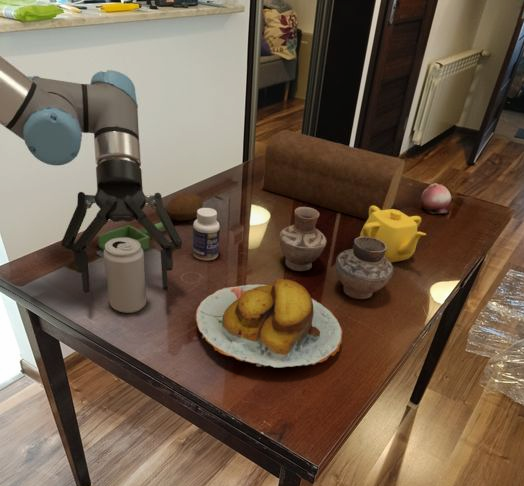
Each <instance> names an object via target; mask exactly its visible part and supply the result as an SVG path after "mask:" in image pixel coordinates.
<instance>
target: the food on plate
mask: <svg viewBox="0 0 524 486" xmlns="http://www.w3.org/2000/svg"><path fill="white" fill-rule="evenodd" d="M194 314H195V318H194V320H195V322H196V327H197V328H198V331H199V332H200V333H201V334H202V336H201V339H205V341H206V342H207V343H208V344H210V345H211V346H212V347H213V349H214V351H217V352H218V353H220V356H222V355H224V356H227V357H232V358H235V360H238V361H241V362H245V363H250V364H255V366H256V367H258V368H259V367H262V366H263V367H269V366H270V367H273V368H287V367H290V368H293V367H296V366H297V367H301V366H309V365H313V366H315V365H316V364H317V363H323V362H324V361H327V360H328V359H329V357H330V356H332V357H334V356H335V355H336V354H337V352H339V351H340V347H341V344H342V343H343V333H344V330H343V328H342V326H341V324H340V323H339V320H338V319H337V318H336V317H335V315H334V313H332V311H331V310H330V309H329V308H327V307H325V306H324V305H323V304H322V303H320V302H318V301H317V300H316V299H314V298H312V297H311V294H310V293H309V291H308V290H307V289H306V288H305V287H304V285H302V284H300V283H298V282H296V281H294V280H291V279H288V278H284V279H282V278H277V279H275V280H274V282H273V284H246V285H237V286H230V287H227V286H226V287H223V288H221V289H217V290H216V291H214V292H212V294H210V295H208V296H206V297H205V298H204V299H203V300H200V302H199V304H198V306H197V307H196V310H195V313H194Z"/></svg>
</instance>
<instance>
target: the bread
mask: <svg viewBox="0 0 524 486" xmlns="http://www.w3.org/2000/svg"><path fill="white" fill-rule="evenodd" d="M266 143H267V144H266V148H265V156H264V157H265V158H264V168H263V178H262V189H263V190H265V191H268V192H271V193H274V194H278V195H281V196H285V197H288V198H292V199H295V200H298V201H301V202H304V203H308V204H311V205H315V206H319V207H321V208H325V209H328V210H331V211H334V212H338V213H341V214H346V215H348V216H352V217H355V218H358V219H362V220H366V221H367V220H368V218H369V208H370V206H376V207H378V208H379V209H380V210H387V209H392V207H393V206H394V204H395V201H396V197H397V192H398V190H399V186H400V182H401V178H402V174H403V171H404V168H405V163H406V161H405V159H402V158H399V157H395V156H391V155H386V154H382V153H377V152H373V151H370V150H365V149H362V148H357V147H354V146H350V145H346V144H342V143H339V142H334V141H330V140H327V139H323V138H321V137H320V138H319V137H315V136H312V135H307V134H304V133H300V132H296V131H293V130H292V131H291V130H289V129H283V130H280V131H278V132H277V133H275V134H273V135H271V136H270V137H269V139H268V140H267V142H266Z"/></svg>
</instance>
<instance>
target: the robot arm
mask: <svg viewBox="0 0 524 486" xmlns="http://www.w3.org/2000/svg"><path fill="white" fill-rule="evenodd" d="M136 94H137V93H136V87H135V84H134V82H133V81H132V79H131V78H129V76H127V75H126V74H124V73H123V72H120V71H117V70H112V69H108V70H106V71H102V70H100V71H98V72H97V71H96V73H95V74H93V75H92V76H91V79H90V83H80V82H79V83H78V82H72V81H66V80H59V79H52V78H47V77H46V78H44V77H41V76H39V75H33V76H29V75H26V74H25V73H23V72H22V71H21V70H19V69H18V68H17V67H15V65H13V64H12V63H10V62H9V61H8V60H6V59H5V58H4V57H2V56H1V55H0V125H1V126H2V127H4V128H6V129H7V130H8V131H10V132H11V133H13V134H14V135H16V136H17V137H18V138H20V139H21V140H23V141H24V145H25V146H26V147H27V149H28V150H29V152H30V153H31V154H32V156H33V157H34V158H35V159H37V160H38V161H40V162H41V163H43V164H45V165H49V166H55V167H56V166H64V165H67V164H69V163H71V162H73V160H75V158H77V157H78V155H79V153H80V150H81V145H82V140H83V139H82V137H83V134H93V140H94V141H93V144H94V157H95V158H94V159H95V165H96V167H95V175H96V193H95V194H94V195H93V194H85V192H84V191H79V192H78V193H77V201H76V202H77V205H76V207H75V209H74V212H73V214H72V216H71V219H70V221H69V223H68V226H67V227H66V231H65V232H64V235H63V237H62V239H61V241H60V244H61V246H62V248H63V249H64V251H65V252H71V253H73V262H74V263H73V265H74V270H75V271H76V274H77V273H78V274H81V282H82V284H81V285H82V291H83V292H84V294H90V293H91V292H90V276H89V275H90V273H89V272H90V271H89V258H88V256H89V255H88V254H87V252H86V249H87V248H88V247H89V245H91V243H92V241H93V240H94V239H95V237H96V236H98V234H99V232H100V231H101V229H102V228H103V227H104V226H105V225H106V224H107V223H108V222H109V221H112V222H113V223H118V222H122V221H123V222H128V223H129V222H131V223H132V222H133V221H134V220H135V221H137V222H138V224H139V225H141V226H142V227H143V228H145V229H146V231H147V232H148V233H149V235H150V237H152V239H153V240H154V241H155V243H157V244H158V245H159V247H160V248H161V249H160V263H161V280H162V291H168V289H169V283H168V271H173V269H174V259H173V252H174V251H176V250H180V249H182V245H183V240H182V239H181V237H180V235H179V233H178V231H177V229H176V228H175V225H174V224H173V221H172V219H171V218H170V217H169V216H168V214H167V209H165V207H164V205H163V198H162V194H161V193H160V192H155V193H154V195H153V194H152V195H146V194H145V193H144V191H143V189H144V188H143V176H142V175H143V174H142V168H141V166H142V161H141V158H142V157H141V144H140V143H141V142H140V131H139V130H140V129H139V111H138V110H139V109H138V108H139V105H138V101H137V95H136ZM94 204H95V205H96V206H97V207H98V208H99V210H98V212H97V213H96V215H95V217H94V218H93V219H92V221H91V222H90V223H89V225H88V226H87V227H86V229H84V231H83V232H82V234H80V236H79V238H78V239H77V240H76V238H77V236H78V233H79V232H80V230H81V227H82V225H83V223H84V220H85V218H86V215H87V212H88V210H89V209H91V208H92V205H94ZM147 204H148V205H149V206H150V208H151V209H153V210H154V209H155V213H156V215H157V217H158V219H159V221H160V222H162V224H163V226H164V228H165V229H164V230H165V232H166V233H167V235H168V237H169V239H170V241H169V240H168V238H166V236H165V235H164V234H163V233H162V232H161V230H160V231H159V230H158V229H157V227H156V226H155V225H154V223H153V222H152V221H151V219H150V218H149V217H148V216H147V214H146V213H145V211H144V210H143V209H144V208H145V206H146V205H147ZM75 241H76V242H75Z"/></svg>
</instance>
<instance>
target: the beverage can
mask: <svg viewBox="0 0 524 486" xmlns="http://www.w3.org/2000/svg"><path fill="white" fill-rule="evenodd" d="M144 257H145V256H144V251H143V250H142V248H141V245H140V243H139V242H138V241H137V240H135V239H132V238H125V237H121V238H115V239H112V240H110V241H108V242H107V243H106V244H105V250H103V261H104V270H105V277H106V286H107V292H108V294H107V295H108V300H109V301H108V302H109V306H110V307H111V308H112V309H114V310H115V311H117V312H120V313H124V314H132V313H136V312H138V311H140V310H141V309H143V308H144V307H145V306H146V304H147V288H146V274H145V273H146V271H145V258H144Z"/></svg>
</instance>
